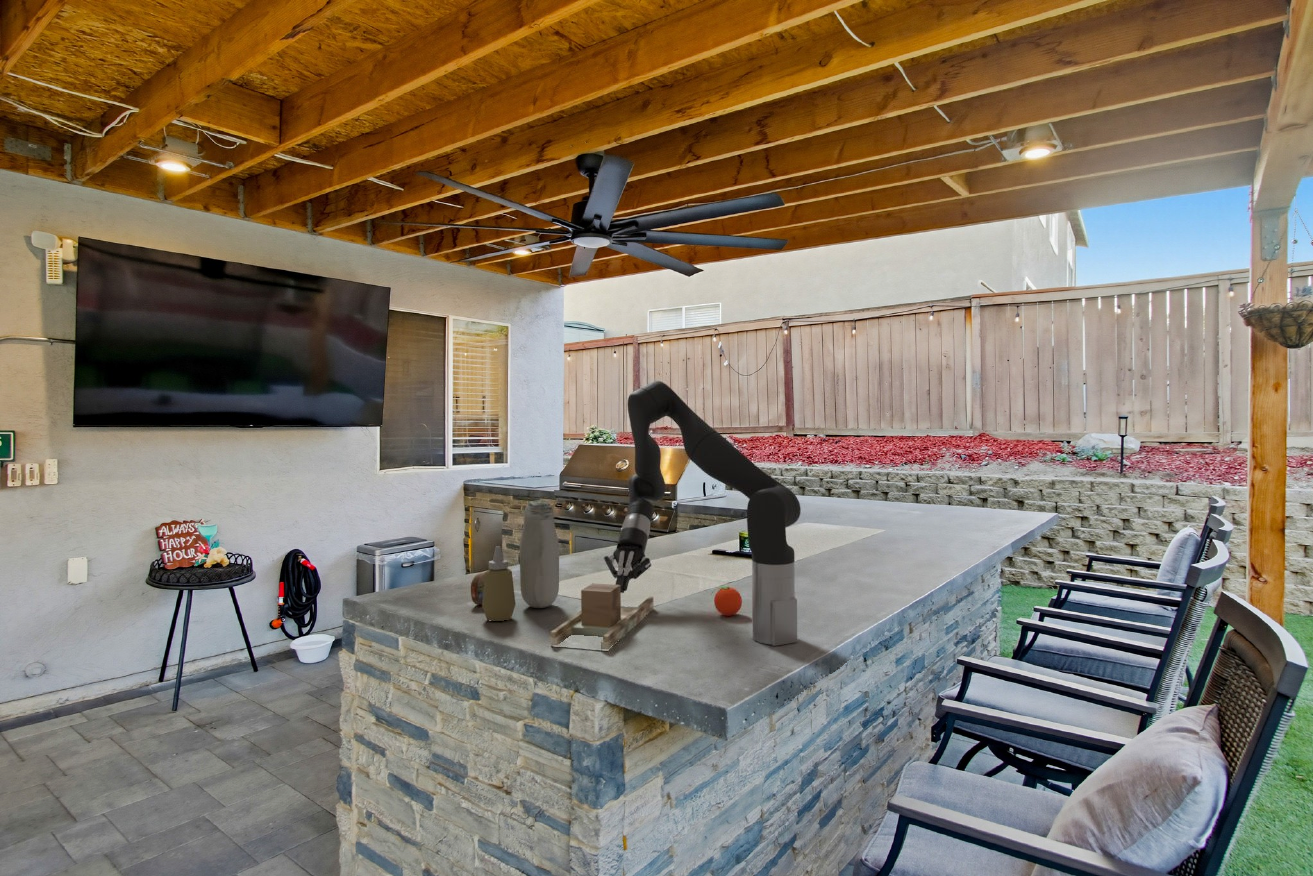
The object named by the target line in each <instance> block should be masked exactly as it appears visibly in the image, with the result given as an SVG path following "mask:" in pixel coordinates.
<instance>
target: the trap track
mask: <svg viewBox="0 0 1313 876" xmlns="http://www.w3.org/2000/svg"><path fill="white" fill-rule="evenodd" d="M625 606H626V605H625ZM625 606H624V605H621V619H620V620H619V621H618V622H617V623H615V624H614V625H613V626H612V627H611V628H609V627H596V626H584V625H582V620H581V610H580V611H579V612H577V613H576V614H574V615H573V616H572V617H570V618H569V619H568V620H566V621H565V622H563V623H562V624H560V625H559V626H557V627H556V628H555V629H552V630H551V631H550V646H551V645H558V644H560V643H561V642H563V641H564V640H565V639H566V638H568V637H569V636H571V635H584V636H598V637H603V640H602V641H601V649H609V648H610V647H611V646H612V645H614V644H615V643H616V642H618V640H620V639H621V638H622V637H623V636H624V635H625V636H627V634H628V631H630V630H631V629H632V628H633V629H634V628H635V627H636V626H637V625H638V624H639V623H640V622H641V621H642V620H644V617H645V618H646V617H647V616H648V615H649V614H651V612H652V611H653V610H654V596H649V597H647V598H646V599H645V600H643V602H641V603H640V604H639V605H638V606H627V607H625ZM646 615H647V616H646ZM634 626H635V627H634ZM633 629H632V630H633ZM632 630H631V631H632ZM631 631H630V632H631ZM626 633H627V634H626ZM625 636H624V637H625ZM624 637H623V638H624ZM623 638H622V639H623ZM622 639H621V640H622ZM621 640H620V641H621ZM618 643H619V642H618Z"/></svg>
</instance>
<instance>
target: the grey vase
mask: <svg viewBox="0 0 1313 876" xmlns="http://www.w3.org/2000/svg"><path fill="white" fill-rule="evenodd" d="M555 525H556V524H555V520H554V510H553V507H552V505H551V504H550V503H549V502H548V501H546V500H540V499H536V500H535V499H534V500H532V501H530V502H529V503H528V504H527V505H526V506H525V509H524V516H523V525H522V526H523V527H522V532H521V536H520V542H519V574H520V576H519V578H520V579H519V580H520V582H519V583H520V585H519V586H520V593H521V597H522V599H523V602H525V604H527V606H529V607H531V608H533V609H544V608H547V607H550V606H552V604H554V603H555V601H556V600H557V597H558V595H559V591H560V590H559V589H560V546H559V540H558V534H557V530H556V526H555Z"/></svg>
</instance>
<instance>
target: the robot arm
mask: <svg viewBox="0 0 1313 876" xmlns="http://www.w3.org/2000/svg"><path fill="white" fill-rule="evenodd" d="M627 412H628V418H629V424H630V430H631V434H632V439H633V444H634V471H635V474H633V475H632V476H630V478H629V479H628V486H627V487H628V508H627V512H626V515H625V518H624V520H623V523H622V525H621V528H620V533H619V537H618V540H617V544H616V547H615V548H616V549H615V550H614V551H613V554H612V555H610V556H607V555H606V556H604V557H603V560H604V562H605V564H606V566H607V569H609V571H610V574H611V575H612V577H613V578H614V579H616V581H615V584H614V585H620V589H621V594H624V593H625V592H626V591H627V590H628V587H629V583H630V580H633V579H634V580H636V579H638V578H639V577H640V576H641V575H643V574H644V573H645V572H646V571H647V570H648V569H650V567H652V563H651V560H650V558H649V557H646V555H645V551H646V548H647V544H648V540H649V535H650V533H651V532H650V531H651V523H652V519H653V514H654V510H655V509H654V505H653V503H652V502H651V501H653V502H659V501H661V500H662V499H663V498H664V496H665V494H666V482H665V479H664V478H665V477H664V475H663V473H662V469H661V461H662V460H661V459H662V453H661V448H660V446H659V444H658V442H657V441H656V440H655V438H654V437H652V435H650V433H649V431H650V427H651V424H653V423H656V422H657V421H659V420H661V419H662V418H665V417H668V418H670V419H671V420H673V422H675V423H676V425H677V426H678V428H679V430H680V432H681V434H680V435H681V438H682V444H683V447H684V451H685V453H686V455H687V457H688V459H689V460H691V462H692V463H694V465H696V466H697V467H698V468H699V469H700V470H701V471H703V473H705V474H706V475H708V476H709V477H711V478H713V479H714V480H716V481H718V482H719V483H722V484H724V485H727V486H728V487H730V488H732V489H735V490H736V491H738V492H740V493H741V494H742V495H744V496H745V497H746V498H748V503H747V506H746V507H747V508H746V524H747V525H746V528H747V529H746V530H747V542H748V548H749V551H750V553H751V572H752V573H751V584H752V585H751V589H752V590H751V591H752V592H751V593H752V595H751V596H752V597H751V599H752V602H751V603H752V604H751V606H752V608H751V609H752V639H753V640H754V641H756V642H758V643H761V644H765V645H771V646H774V647H777V646H781V645H787V644H792V643H793V644H795V643H798V599H797V598H796V594H795V593H796V591H795V589H796V586H795V579H796V577H795V576H796V575H795V574H796V573H795V569H796V568H795V566H796V565H795V560H796V559H795V549H794V547H792V546H790V545H789V544H788V541H787V531H786V530H787V529H786V528H787V527H790V526H792V525H794V524H795V523H796V522H797V521H798V520H799V518H800V516H801V510H802V509H801V503H800V501H799V498H798V497H797V496H796V494H795V493H794V492H793V491H792V490H791V489H789V488H788V487H787V486H785V485H784V484H782V483H781V482H780V481H778V480H776V479H775V478H773V477H772V476H770V475H769V474H767V473H766V472H764V471H763V470H762V469H760V467H758V466H757V465H756V464H755V463H753V462H752V461H751V460H750V459H749V458H748V457H747V456H746V455H745V454H743V453H742V452H741V451H740V450H739V449H738V448H737V447H735V446H734V445H733V444H732V443H731V442H730V441H729V440H728V439H726V437H724V436H723V435H722V434H721V433H719V432H718V431H717V430H716V429H714V428H713V427H712V426H710V425H709V424H708V423H707V422H706V421H705V420H703V418H701V417H700V416H699V415H698V414H697V413H696V412H694V411H693V409H692V408H690V406H689V405H688V404H687V403H686V402H684V400H683V399H682V398H681V397H680V395H678V394H677V393H676V392H675V391H674V390H673V389H672V388H671V387H670V386H669V385H667V384H666V383H664V382H663V381H660V380H655V381H652V382H650V383H648V384H646V385H644V386H641V387H639V388H638V389H635V390H634V391H632V392H631V393H630V394H629V396H628V398H627ZM615 562H616V563H617V569H616V567H615V566H614V565H615Z"/></svg>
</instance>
